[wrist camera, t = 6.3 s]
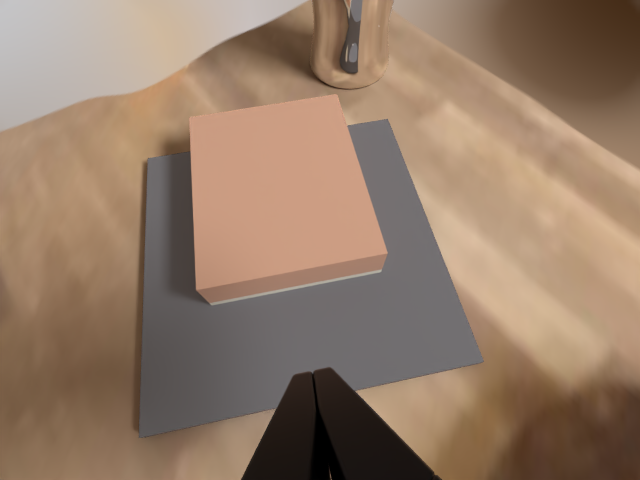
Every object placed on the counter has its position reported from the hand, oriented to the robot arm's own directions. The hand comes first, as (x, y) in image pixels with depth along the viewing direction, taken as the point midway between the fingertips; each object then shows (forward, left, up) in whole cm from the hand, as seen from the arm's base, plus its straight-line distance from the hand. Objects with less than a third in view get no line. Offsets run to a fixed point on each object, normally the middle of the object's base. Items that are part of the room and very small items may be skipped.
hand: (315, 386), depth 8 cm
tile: (+6, 0, -8) cm, 10 cm away
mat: (+8, 0, -10) cm, 13 cm away
